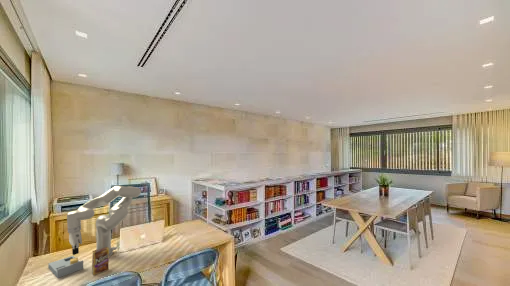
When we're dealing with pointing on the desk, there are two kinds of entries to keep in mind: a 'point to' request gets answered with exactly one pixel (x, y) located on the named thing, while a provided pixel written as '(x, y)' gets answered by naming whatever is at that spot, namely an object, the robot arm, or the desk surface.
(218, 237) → the desk surface
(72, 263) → the block
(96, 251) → the candy box
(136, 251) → the desk surface
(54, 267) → the board
